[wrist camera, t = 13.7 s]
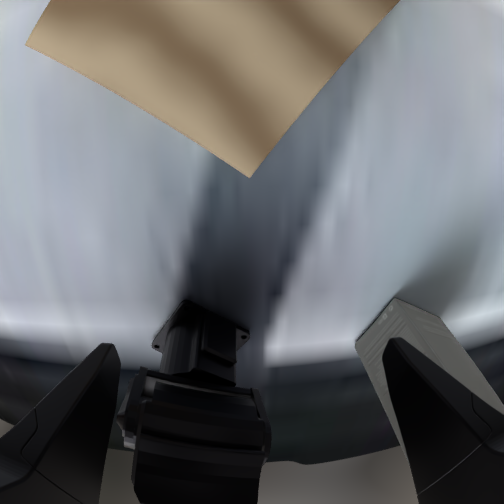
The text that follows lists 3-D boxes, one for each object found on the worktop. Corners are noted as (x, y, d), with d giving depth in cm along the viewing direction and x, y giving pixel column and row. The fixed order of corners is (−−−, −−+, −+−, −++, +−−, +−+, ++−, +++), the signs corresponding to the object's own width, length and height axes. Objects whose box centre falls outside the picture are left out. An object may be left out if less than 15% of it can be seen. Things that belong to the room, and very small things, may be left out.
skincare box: (351, 343, 28) (403, 494, 14) (399, 287, 25) (489, 440, 11) (404, 359, 30) (457, 480, 17) (447, 313, 27) (522, 432, 14)
